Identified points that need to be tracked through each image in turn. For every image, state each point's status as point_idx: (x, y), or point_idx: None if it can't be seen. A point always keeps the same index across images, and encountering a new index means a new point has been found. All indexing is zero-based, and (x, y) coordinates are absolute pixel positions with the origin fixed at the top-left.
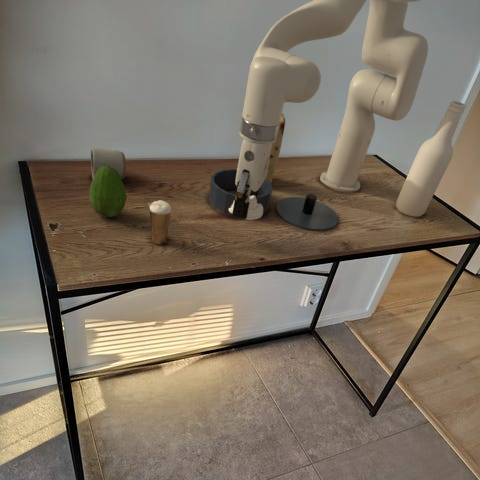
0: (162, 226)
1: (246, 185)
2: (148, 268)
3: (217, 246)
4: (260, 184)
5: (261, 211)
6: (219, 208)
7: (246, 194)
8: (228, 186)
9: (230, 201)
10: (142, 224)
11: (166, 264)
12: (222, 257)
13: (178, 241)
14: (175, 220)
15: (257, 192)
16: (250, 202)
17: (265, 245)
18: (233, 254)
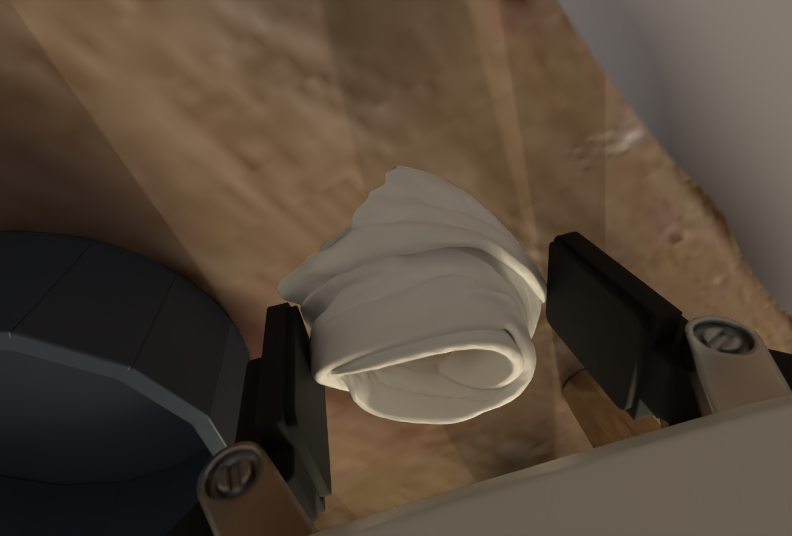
0: (660, 425)
1: (320, 496)
2: (735, 317)
3: (520, 240)
4: (767, 482)
5: (396, 194)
6: None
7: (321, 410)
8: (8, 492)
9: (235, 410)
10: (524, 454)
11: (703, 297)
12: (592, 179)
13: (560, 349)
14: (441, 426)
15: (282, 380)
16: (509, 319)
17: (355, 42)
18: (546, 152)
